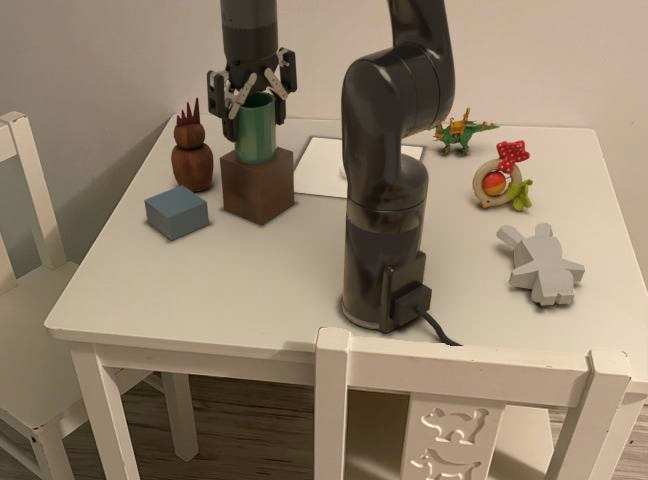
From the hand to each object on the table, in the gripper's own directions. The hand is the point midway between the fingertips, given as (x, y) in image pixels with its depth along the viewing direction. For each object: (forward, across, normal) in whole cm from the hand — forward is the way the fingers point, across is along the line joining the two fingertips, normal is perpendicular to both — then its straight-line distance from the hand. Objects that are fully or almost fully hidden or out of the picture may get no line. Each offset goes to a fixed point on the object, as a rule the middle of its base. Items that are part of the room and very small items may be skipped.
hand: (255, 131), depth 109 cm
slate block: (+13, -12, +5) cm, 18 cm away
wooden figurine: (+13, -4, +12) cm, 18 cm away
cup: (+4, 0, 0) cm, 4 cm away
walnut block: (+13, 0, 0) cm, 13 cm away
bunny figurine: (+13, +17, -40) cm, 45 cm away
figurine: (+13, +37, -9) cm, 40 cm away
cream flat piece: (+13, +20, -1) cm, 24 cm away
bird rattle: (+13, +28, -25) cm, 40 cm away
